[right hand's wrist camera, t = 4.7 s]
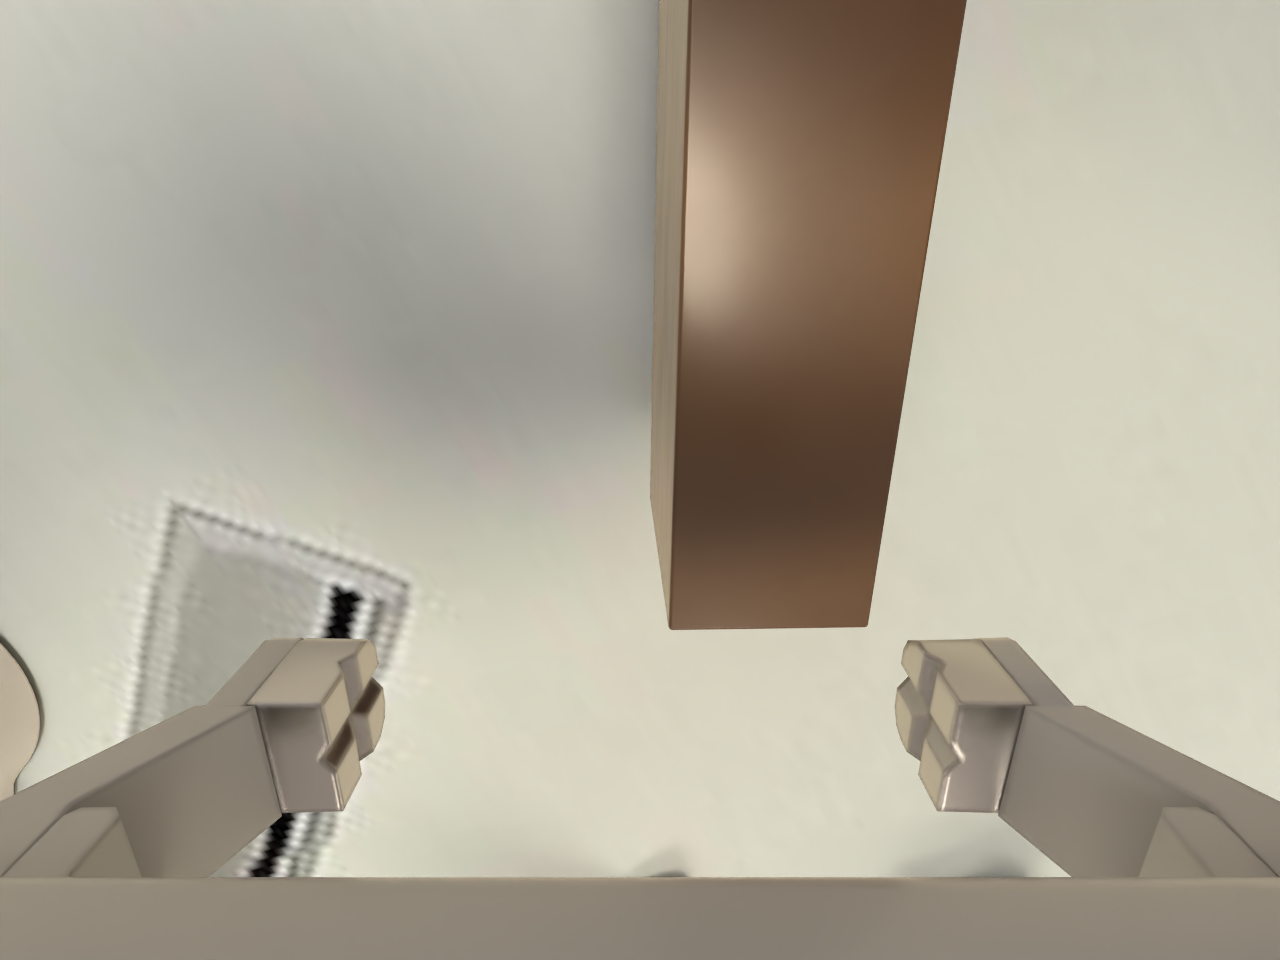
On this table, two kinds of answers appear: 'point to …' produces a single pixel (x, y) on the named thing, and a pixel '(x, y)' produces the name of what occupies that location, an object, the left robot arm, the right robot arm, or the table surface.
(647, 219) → the table surface
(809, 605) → the bar
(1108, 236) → the table surface
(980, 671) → the right robot arm
